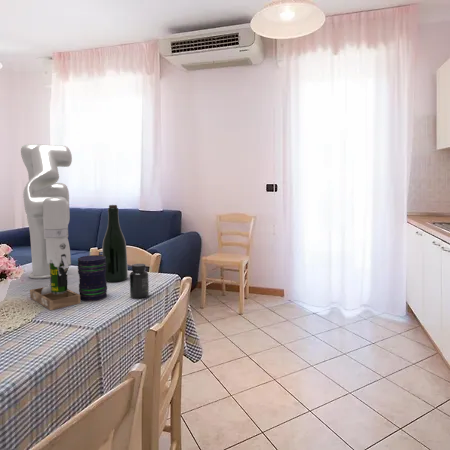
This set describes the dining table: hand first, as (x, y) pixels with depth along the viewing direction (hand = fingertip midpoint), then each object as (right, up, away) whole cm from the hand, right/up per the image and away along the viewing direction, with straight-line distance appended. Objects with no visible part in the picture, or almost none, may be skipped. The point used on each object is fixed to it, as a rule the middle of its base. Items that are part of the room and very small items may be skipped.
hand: (59, 284), depth 126 cm
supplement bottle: (+26, -6, +9) cm, 28 cm away
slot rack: (-3, -7, +4) cm, 8 cm away
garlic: (-7, -6, +7) cm, 12 cm away
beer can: (0, -3, 0) cm, 3 cm away
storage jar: (+9, -6, +8) cm, 14 cm away
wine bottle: (+10, -3, +33) cm, 34 cm away
